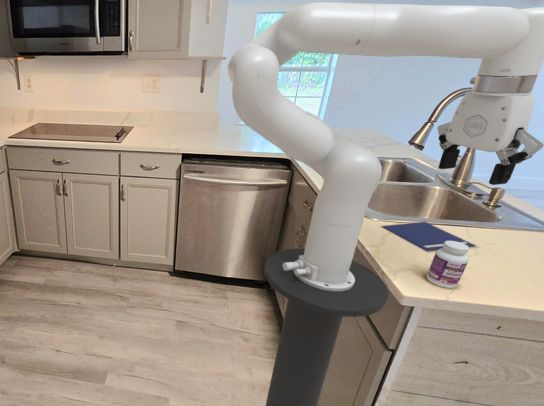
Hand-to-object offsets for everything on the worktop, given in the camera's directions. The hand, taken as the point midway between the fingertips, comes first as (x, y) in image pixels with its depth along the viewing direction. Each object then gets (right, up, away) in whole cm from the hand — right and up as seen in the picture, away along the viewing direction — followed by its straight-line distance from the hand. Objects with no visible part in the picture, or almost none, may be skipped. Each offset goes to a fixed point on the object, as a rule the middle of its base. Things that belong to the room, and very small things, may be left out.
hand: (470, 175), depth 72 cm
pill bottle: (+4, -24, +11) cm, 26 cm away
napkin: (+17, -15, +29) cm, 37 cm away
